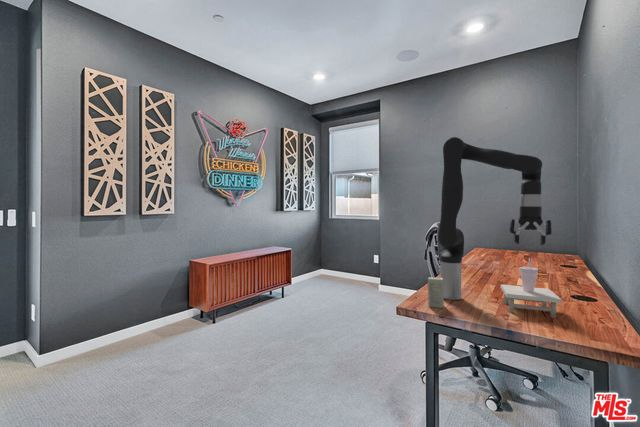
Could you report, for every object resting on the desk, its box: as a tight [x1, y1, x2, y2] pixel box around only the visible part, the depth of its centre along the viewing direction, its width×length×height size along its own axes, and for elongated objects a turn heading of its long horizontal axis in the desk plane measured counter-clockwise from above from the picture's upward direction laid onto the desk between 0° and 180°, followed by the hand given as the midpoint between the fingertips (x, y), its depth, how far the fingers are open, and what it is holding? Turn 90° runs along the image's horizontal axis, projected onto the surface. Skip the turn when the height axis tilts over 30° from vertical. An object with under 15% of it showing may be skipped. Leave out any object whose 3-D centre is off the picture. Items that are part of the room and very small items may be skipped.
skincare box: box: [427, 276, 445, 309], centre depth 132 cm, size 6×4×12 cm
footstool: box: [500, 284, 562, 319], centre depth 127 cm, size 18×16×8 cm
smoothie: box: [519, 257, 539, 292], centre depth 127 cm, size 6×6×14 cm
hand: (529, 244), depth 127 cm, fingers open, 8 cm apart
